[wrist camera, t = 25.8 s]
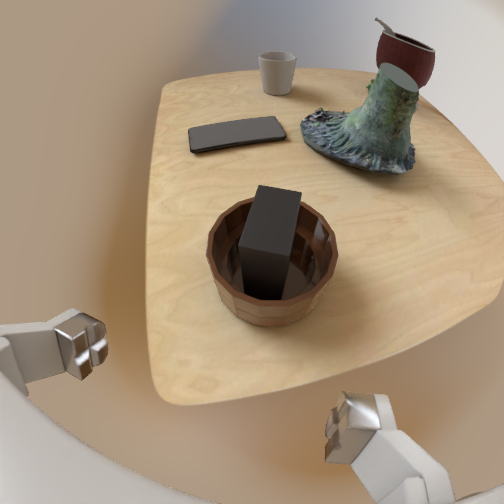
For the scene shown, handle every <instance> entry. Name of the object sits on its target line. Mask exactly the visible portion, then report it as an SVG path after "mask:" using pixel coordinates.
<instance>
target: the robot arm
mask: <svg viewBox="0 0 504 504" xmlns="http://www.w3.org/2000/svg"><path fill="white" fill-rule="evenodd" d="M105 334H106V327H105V324H104V323H103V322H101V321H99V320H97V319H95V318H93V317H91V316H89V315H87V314H85V313H83V312H81V311H79V310H77V309H74V308H71V309H69V310H67V311H66V312H64V313H62V314H60V315H58V316H56V317H54V318H53V319H51V320H49V321H47V322H46V323H44V322H33V323H20V324H7V325H0V504H219V503H215V502H212V501H208V500H205V499H202V498H199V497H196V496H193V495H190V494H187V493H184V492H181V491H179V490H176V489H174V488H171V487H169V486H166V485H164V484H161V483H159V482H157V481H154V480H152V479H150V478H148V477H145V476H143V475H141V474H139V473H137V472H135V471H133V470H131V469H129V468H127V467H125V466H123V465H121V464H120V463H118V462H116V461H114V460H112V459H111V458H109V457H107V456H105V455H104V454H102V453H100V452H99V451H97V450H95V449H94V448H92V447H91V446H89V445H88V444H86V443H85V442H83V441H82V440H80V439H79V438H77V437H76V436H74V435H73V434H71V433H70V432H69V431H67V430H66V429H65V428H63V427H62V426H60V425H59V424H58V423H57V422H55V421H54V420H53V419H52V418H50V417H49V416H48V415H47V414H45V413H44V412H43V411H42V410H41V409H39V408H38V407H37V406H36V405H35V404H34V403H33V402H32V401H30V400H29V399H28V398H27V396H28V395H29V392H28V389H27V387H26V385H25V383H29V382H32V381H36V380H40V379H44V378H47V377H51V376H54V375H58V374H61V373H64V372H65V371H66V372H68V373H69V374H71V375H73V376H74V377H76V378H78V379H79V380H81V381H82V380H83V379H84V378H85V377H87V376H88V374H90V373H91V372H92V370H93V367H94V366H98V365H100V364H102V363H103V362H104V360H105V359H106V357H107V354H108V343H107V341H106V339H105V338H104V336H105ZM325 436H326V437H327V439H328V440H329V441H328V443H327V444H326V446H325V462H328V463H337V464H350V466H351V468H352V469H353V470H354V472H355V474H356V475H357V476H358V478H359V479H360V481H361V483H362V484H363V485H364V487H365V488H366V490H367V491H368V493H369V494H370V496H371V497H372V499H373V500H374V501H375V503H376V504H504V483H503V484H501V485H499V486H497V487H495V488H492V489H490V490H487V491H485V492H482V493H480V494H477V495H474V496H472V497H469V498H466V499H463V500H460V501H457V502H456V498H455V494H454V491H453V487H452V483H451V480H450V476H449V473H448V470H446V469H445V468H444V467H443V466H442V465H441V464H439V463H438V462H437V461H436V460H435V459H434V458H432V457H431V456H430V455H429V454H428V453H427V452H426V451H425V450H423V449H422V448H421V447H420V446H419V445H417V443H415V442H414V441H413V440H412V439H411V438H410V437H409V436H408V435H407V434H405V433H404V432H403V431H402V430H398V429H397V425H396V422H395V418H394V415H393V411H392V408H391V404H390V401H389V397H388V396H387V395H382V394H363V393H354V392H346V391H342V392H341V393H340V395H339V397H338V398H337V407H336V408H334V409H332V410H331V413H330V415H329V417H328V420H327V424H326V430H325Z"/></svg>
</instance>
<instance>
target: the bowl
mask: <svg viewBox="0 0 504 504" xmlns="http://www.w3.org/2000/svg"><path fill="white" fill-rule="evenodd" d="M253 200H254V197H253V198H250V199H246V200H243V201H240V202H237V203H236V204H235V205H233V206H232V207H230V208H229V209H228V210H226V211H225V212H224V213H222V214H221V215H220V216H219V218H218V219H217V221H216V222H215V224H214V226H213V227H212V229H211V230H210V232H209V234H208V242H207V250H206V257H207V260H208V263H209V266H210V269H211V272H212V275H213V278H214V281H215V284H216V287H217V289H218V292H219V295H220V298H221V300H222V302H223V303H224V304H225V305H226V306H227V307H228V308H229V309H230V310H231V311H232V312H233V313H234V314H235V315H236V316H237V317H238V318H241V319H243V320H246V321H248V322H251V323H253V324H256V325H258V326H284V325H287V324H289V323H291V322H294V321H296V320H299V319H301V318H303V317H305V316H306V315H307V314H308V313H309V312H310V311H311V310H312V309H313V307H314V306H315V305H316V304H317V303H318V302H319V301H320V299H321V297H322V295H323V293H324V291H325V289H326V287H327V285H328V284H329V282H330V280H331V278H332V275H333V272H334V269H335V265H336V262H337V259H338V250H337V244H336V238H335V234H334V232H333V230H332V229H331V227H330V226H329V224H328V223H327V221H326V220H325V218H324V217H323V216H322V215H321V214H320V213H318V212H317V211H316V210H314V209H313V208H312V207H310V206H309V205H307V204H306V203H304V202H300V208H299V213H298V219H297V225H296V231H295V236H294V242H293V247H292V252H291V257H290V262H289V267H288V271H287V276H286V281H285V285H284V290H283V294H282V299H281V300H259V299H256V298H254V297H251V296H249V295H246V294H245V293H244V288H243V281H242V273H241V265H240V257H239V249H238V245H239V242H240V239H241V236H242V233H243V230H244V227H245V224H246V221H247V218H248V215H249V212H250V209H251V206H252V203H253Z"/></svg>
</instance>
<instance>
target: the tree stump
mask: <svg viewBox="0 0 504 504" xmlns="http://www.w3.org/2000/svg"><path fill="white" fill-rule="evenodd" d="M366 88H368V90H369V94H368V97H367V99H366V101H365V102H364V104H363V106H361V107H358V108H356V109H355V110H353V111H352V112H351V113H348V112H344V111H343V112H334V111H323V108H319V110H316V111H315V113H313V114H310V115H308V116H307V117H306V118H304V119H303V120H302V122H301V124H300V126H301V131H302V135H303V139H304V142H305V143H306V144H307V145H308V146H309V147H311V148H312V149H313V150H314V151H316V152H318V153H320V154H322V155H325V156H327V157H329V158H331V159H334V160H336V161H338V162H340V163H342V164H345V165H349V166H352V167H355V168H359V169H362V170H365V171H368V172H371V173H388V174H401V173H405V172H407V171H408V170H410V169H412V167H413V164H414V163H415V162H416V161H415V158H414V155H415V153H414V151H415V148H414V145H413V144H412V143H411V142H410V141H411V137H410V127H409V125H410V122H411V118H412V115H413V113H414V112H415V109H416V108H417V107H416V103H417V101H418V100H419V98H418V96H419V89H418V86H417V84H416V82H415V81H414V80H413V79H412V78H411V77H410V76H409V75H408V74H407V73H406V72H404V71H403V70H402V69H400V68H398V67H396V66H394V65H392V64H390V63H382V64H381V65H380V68H379V71H378V73H377V76H376V79H375V80H374V79H372V80H371V84H370V85H368V86H367V87H366Z"/></svg>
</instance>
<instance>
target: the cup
mask: <svg viewBox="0 0 504 504" xmlns="http://www.w3.org/2000/svg"><path fill="white" fill-rule="evenodd" d="M258 58H259V65H260V72H261V78H262V84H263V90H264V91H265V92H266V93H268V94H271V95H285V94H287V93H289V92H290V89H291V85H292V80H293V76H294V71H295V65H296V59H297V58H296V56H295V55H293V54H290V53H286V52H264V53H261V54H260V55H259V56H258Z"/></svg>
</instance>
